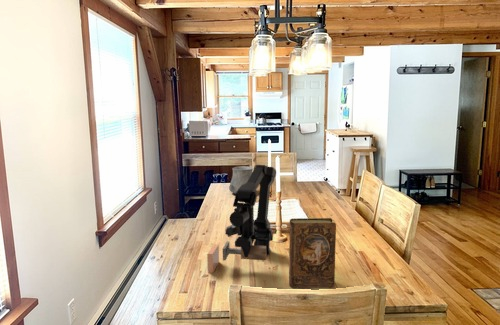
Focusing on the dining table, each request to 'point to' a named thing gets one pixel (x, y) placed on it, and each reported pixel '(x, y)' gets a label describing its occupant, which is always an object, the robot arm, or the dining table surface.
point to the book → (312, 253)
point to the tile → (213, 258)
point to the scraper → (254, 253)
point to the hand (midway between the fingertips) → (246, 255)
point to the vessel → (239, 177)
